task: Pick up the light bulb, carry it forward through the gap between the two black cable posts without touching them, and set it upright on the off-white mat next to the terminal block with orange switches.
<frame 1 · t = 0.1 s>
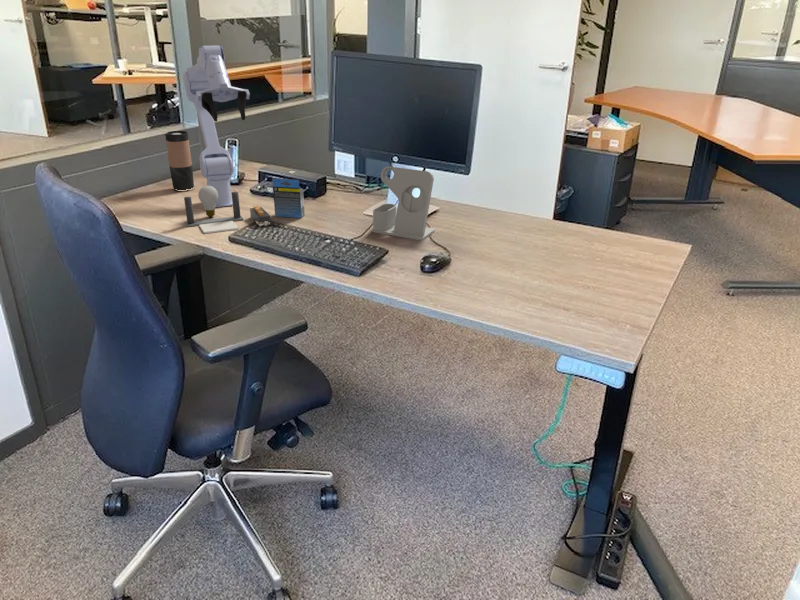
hand: (230, 118, 174), 32 cm above the table, tool tilted 50°, fingers open, 7 cm apart
mat: (218, 227, 187), on the table
phone holder: (402, 231, 187), on the table
blue retail box: (290, 216, 199), on the table
light bulb: (211, 217, 196), on the table
terminal block: (260, 221, 193), on the table
cable posts: (214, 222, 192), on the table
travel mug: (184, 189, 226), on the table
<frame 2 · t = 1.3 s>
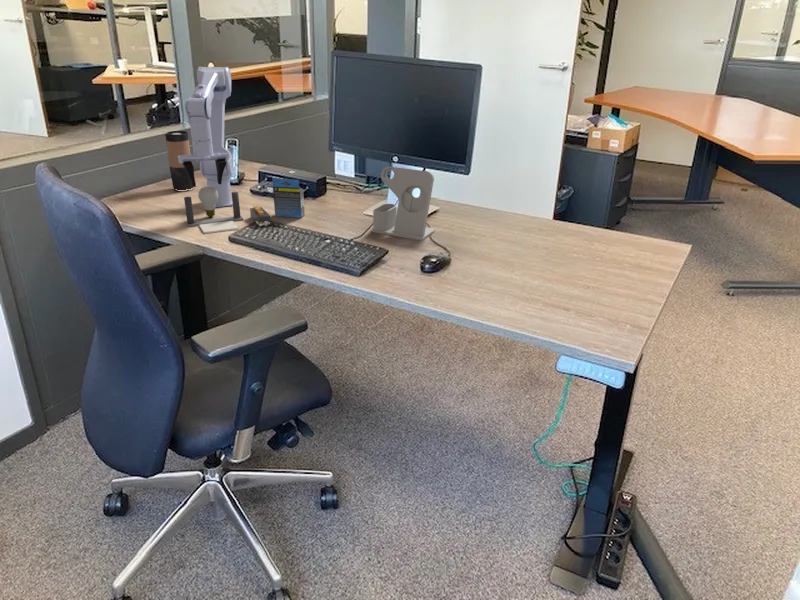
hand: (206, 184, 192), 10 cm above the table, tool pointing down, fingers open, 7 cm apart
nothing on the table moved.
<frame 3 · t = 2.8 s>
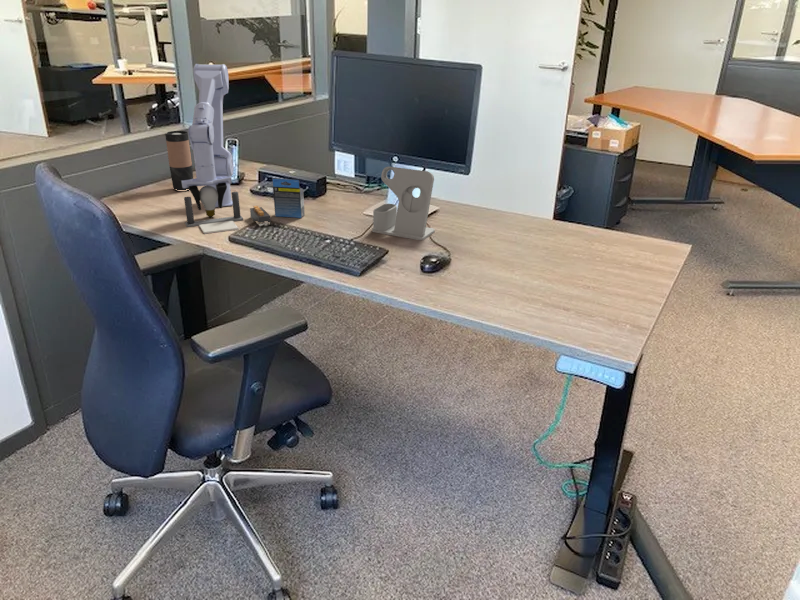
hand: (209, 208, 195), 3 cm above the table, tool pointing down, fingers closed on light bulb, 6 cm apart
light bulb: (211, 217, 196), on the table, touching gripper
everything else where it was.
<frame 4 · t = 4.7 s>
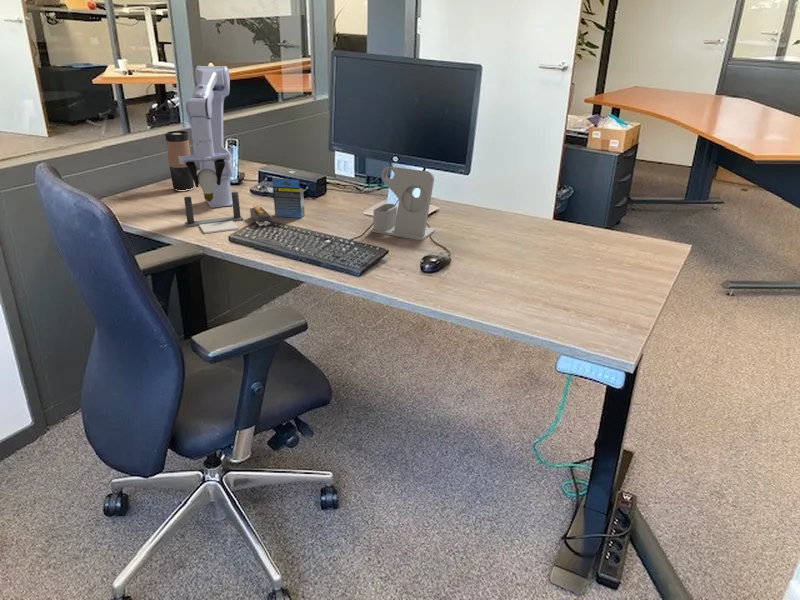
hand: (207, 185, 191), 10 cm above the table, tool pointing down, fingers closed on light bulb, 6 cm apart
light bulb: (209, 201, 193), point 5 cm above the table, touching gripper
everything else where it was.
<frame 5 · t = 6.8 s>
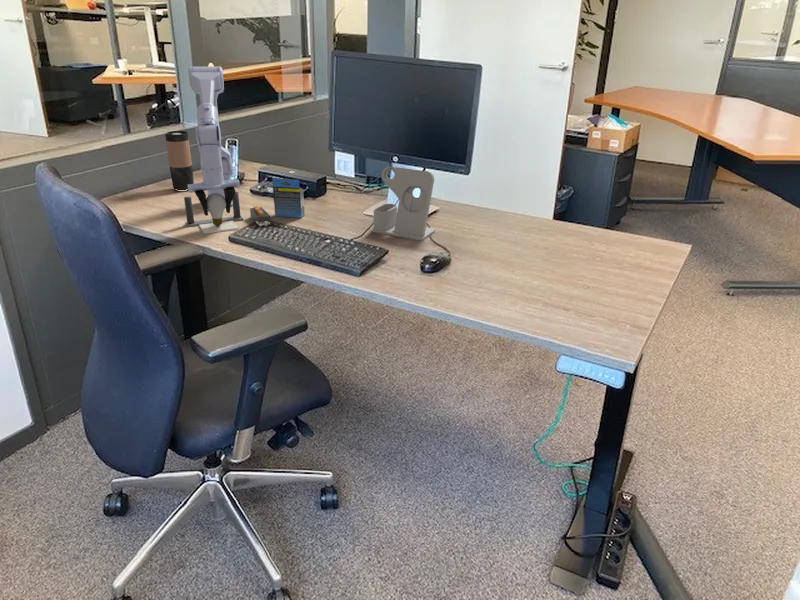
hand: (217, 213, 185), 4 cm above the table, tool pointing down, fingers closed on light bulb, 6 cm apart
light bulb: (217, 226, 187), on the table, touching gripper, mat
everything else where it was.
when the fingers open (4 cm above the table, at t = 7.7 s): light bulb stays where it is, resting on mat.
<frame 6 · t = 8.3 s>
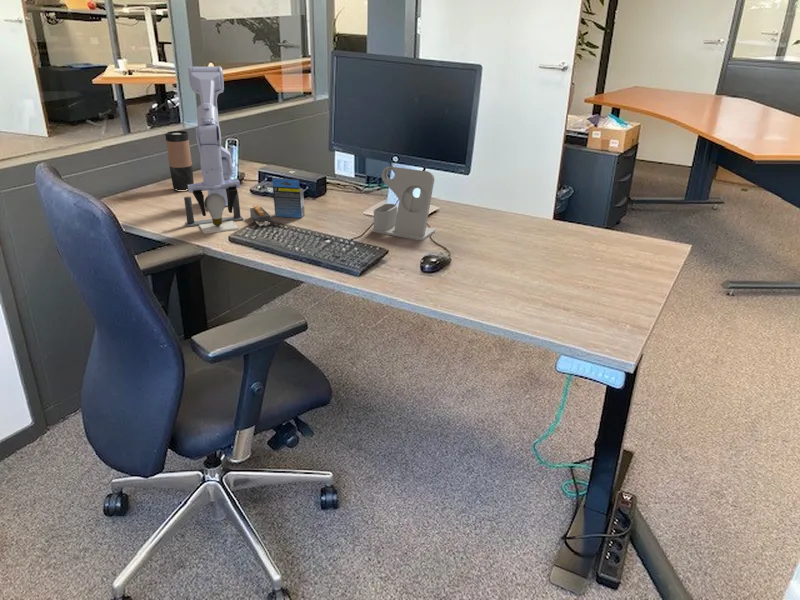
hand: (217, 213, 185), 4 cm above the table, tool pointing down, fingers open, 7 cm apart
light bulb: (218, 226, 187), resting on mat
everything else where it was.
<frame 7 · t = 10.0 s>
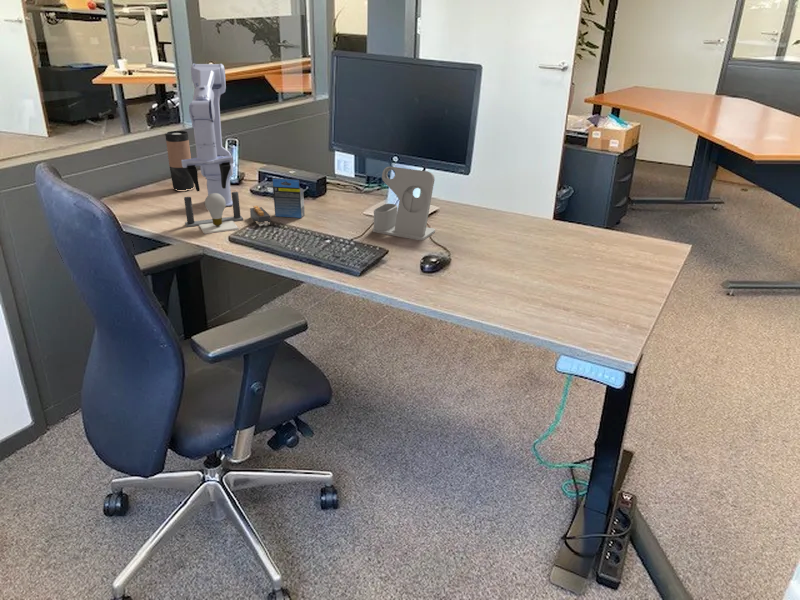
hand: (210, 189, 188), 10 cm above the table, tool pointing down, fingers open, 7 cm apart
nothing on the table moved.
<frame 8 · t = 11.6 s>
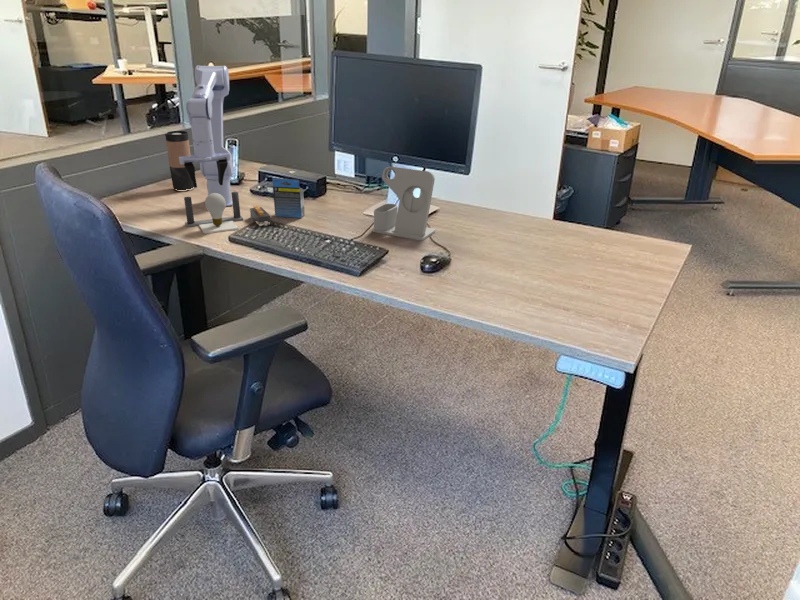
hand: (208, 185, 191), 10 cm above the table, tool pointing down, fingers open, 7 cm apart
nothing on the table moved.
at the end: light bulb 0.3 cm off-centre on the mat, point 0.3 cm above the mat's base; light bulb tilted 0°; light bulb touching mat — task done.
